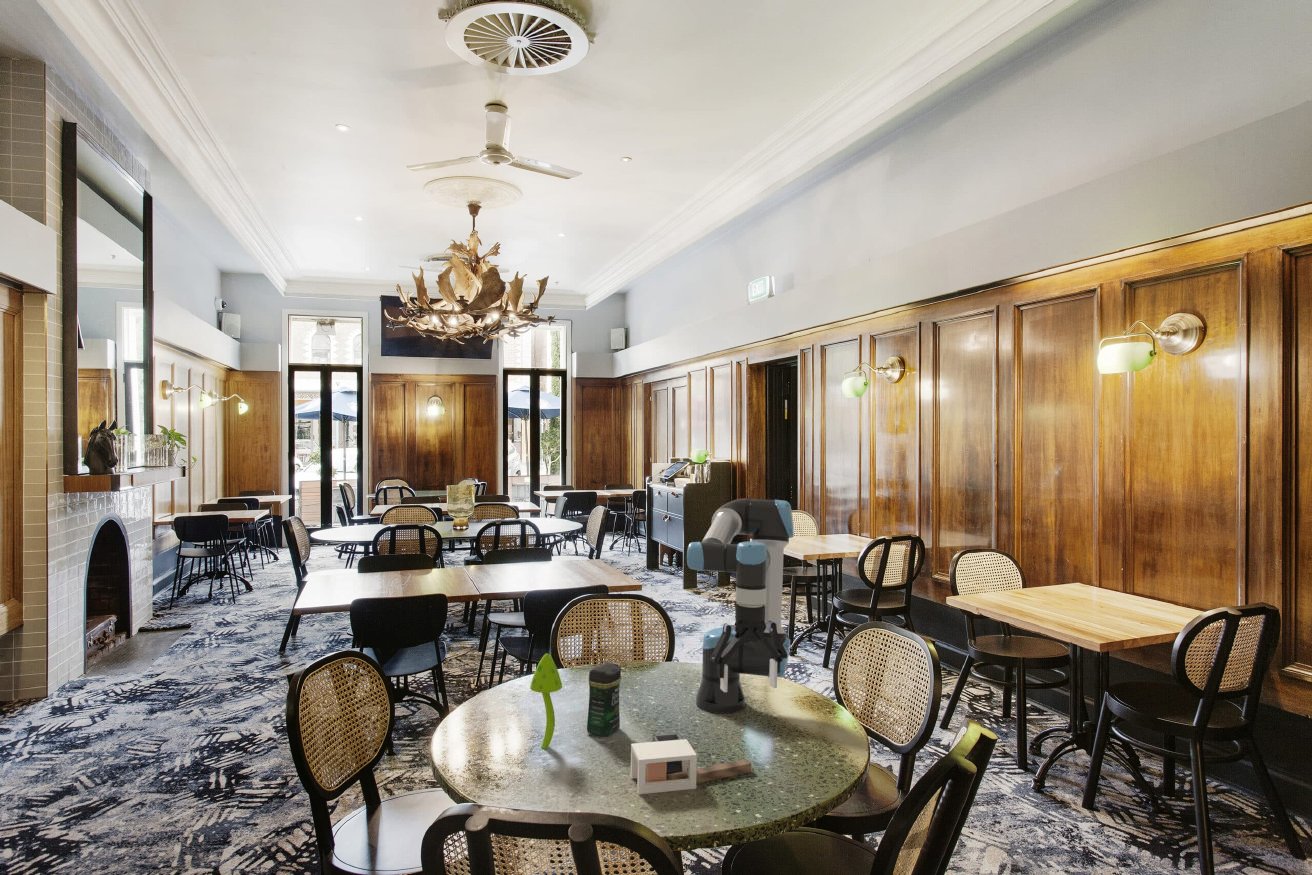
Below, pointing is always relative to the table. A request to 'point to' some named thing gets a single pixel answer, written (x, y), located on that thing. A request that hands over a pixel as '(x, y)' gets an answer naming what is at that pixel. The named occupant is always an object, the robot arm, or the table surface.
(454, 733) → the table surface
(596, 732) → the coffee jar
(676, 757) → the tunnel
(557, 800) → the table surface
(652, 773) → the block
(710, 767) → the rod
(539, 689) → the mushroom
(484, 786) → the table surface
